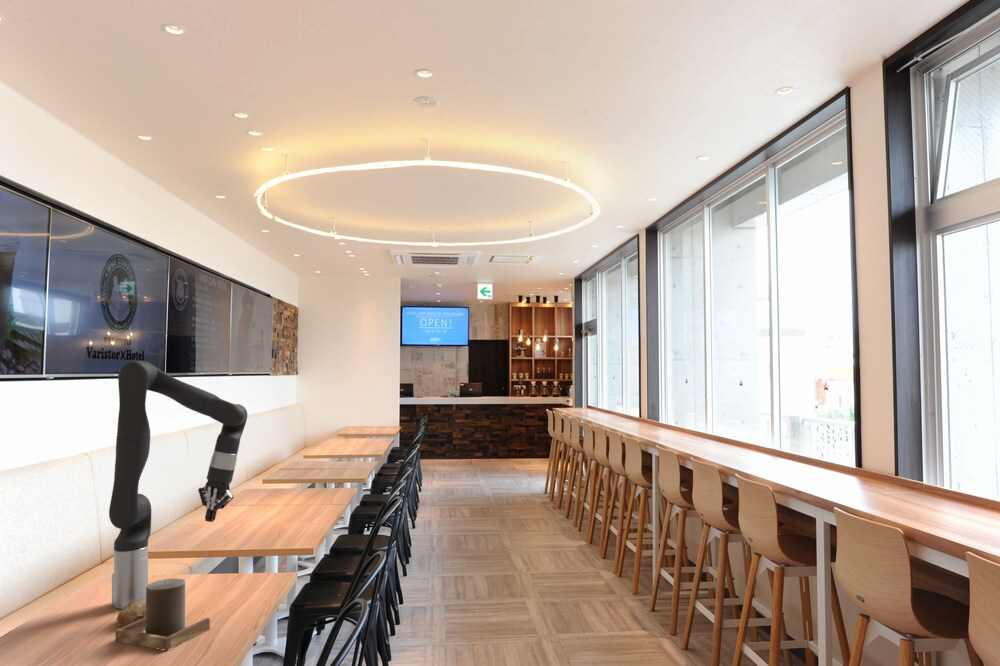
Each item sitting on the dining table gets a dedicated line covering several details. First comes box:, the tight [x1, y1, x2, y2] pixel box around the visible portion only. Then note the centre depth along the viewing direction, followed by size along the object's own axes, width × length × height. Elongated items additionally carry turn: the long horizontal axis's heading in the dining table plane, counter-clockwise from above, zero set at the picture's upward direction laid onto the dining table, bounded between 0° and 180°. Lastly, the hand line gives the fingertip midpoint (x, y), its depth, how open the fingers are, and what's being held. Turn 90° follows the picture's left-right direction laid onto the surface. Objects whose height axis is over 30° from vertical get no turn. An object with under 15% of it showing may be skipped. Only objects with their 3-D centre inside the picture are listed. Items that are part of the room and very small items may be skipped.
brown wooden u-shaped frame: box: [115, 617, 211, 651], centre depth 177 cm, size 18×14×3 cm
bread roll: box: [116, 600, 146, 628], centre depth 187 cm, size 10×10×8 cm
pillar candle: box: [144, 577, 186, 637], centre depth 179 cm, size 10×10×15 cm
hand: (209, 521), depth 205 cm, fingers closed
